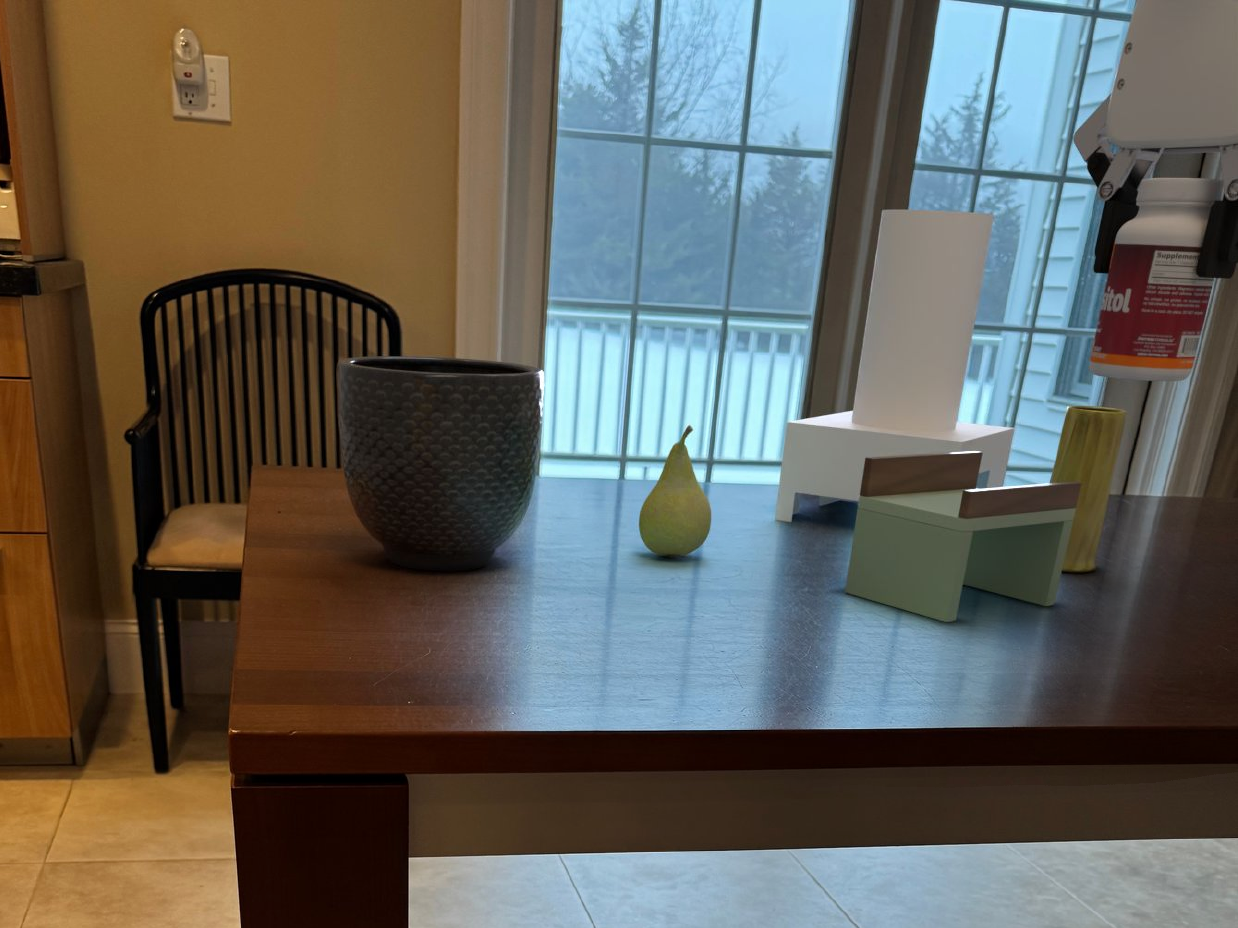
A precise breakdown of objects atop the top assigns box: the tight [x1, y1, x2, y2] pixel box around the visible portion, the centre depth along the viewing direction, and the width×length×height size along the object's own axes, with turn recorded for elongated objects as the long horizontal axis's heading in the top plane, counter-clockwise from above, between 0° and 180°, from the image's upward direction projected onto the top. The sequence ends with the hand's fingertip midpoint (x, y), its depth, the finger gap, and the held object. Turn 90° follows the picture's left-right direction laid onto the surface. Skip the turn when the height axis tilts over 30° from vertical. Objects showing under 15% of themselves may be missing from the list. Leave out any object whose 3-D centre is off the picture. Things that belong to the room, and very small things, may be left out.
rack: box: [844, 451, 1082, 623], centre depth 108 cm, size 11×14×11 cm
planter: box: [336, 355, 545, 572], centre depth 110 cm, size 17×17×16 cm
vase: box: [1049, 405, 1128, 574], centre depth 122 cm, size 6×6×14 cm
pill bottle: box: [1088, 177, 1224, 382], centre depth 80 cm, size 6×6×11 cm
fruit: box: [638, 424, 712, 559], centre depth 117 cm, size 7×8×12 cm
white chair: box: [774, 209, 1015, 523], centre depth 136 cm, size 19×19×30 cm
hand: (1161, 272), depth 80 cm, fingers closed on pill bottle, 6 cm apart
